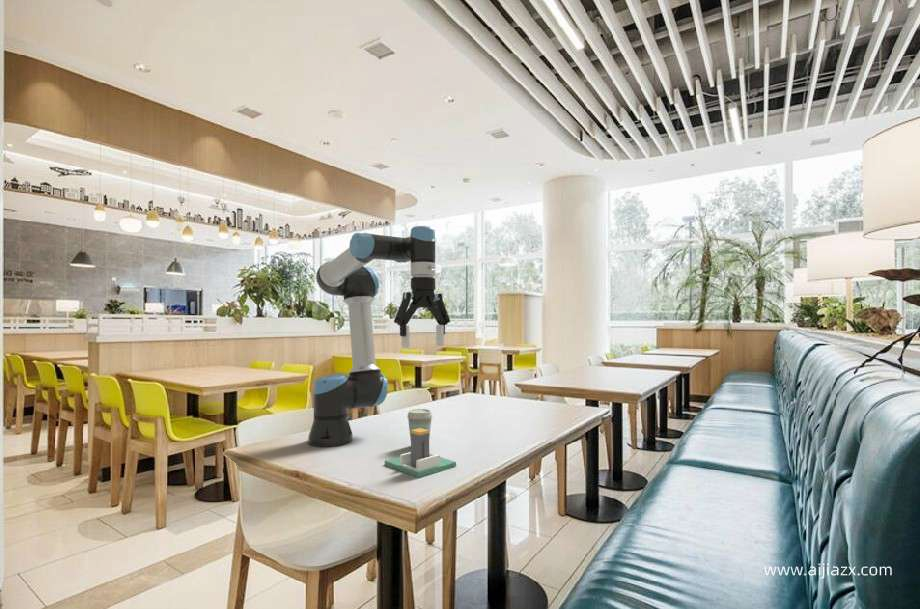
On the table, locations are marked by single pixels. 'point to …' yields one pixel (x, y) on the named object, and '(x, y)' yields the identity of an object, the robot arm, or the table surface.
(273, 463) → the table surface
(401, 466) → the board
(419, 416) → the coffee cup
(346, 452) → the table surface
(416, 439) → the plug
